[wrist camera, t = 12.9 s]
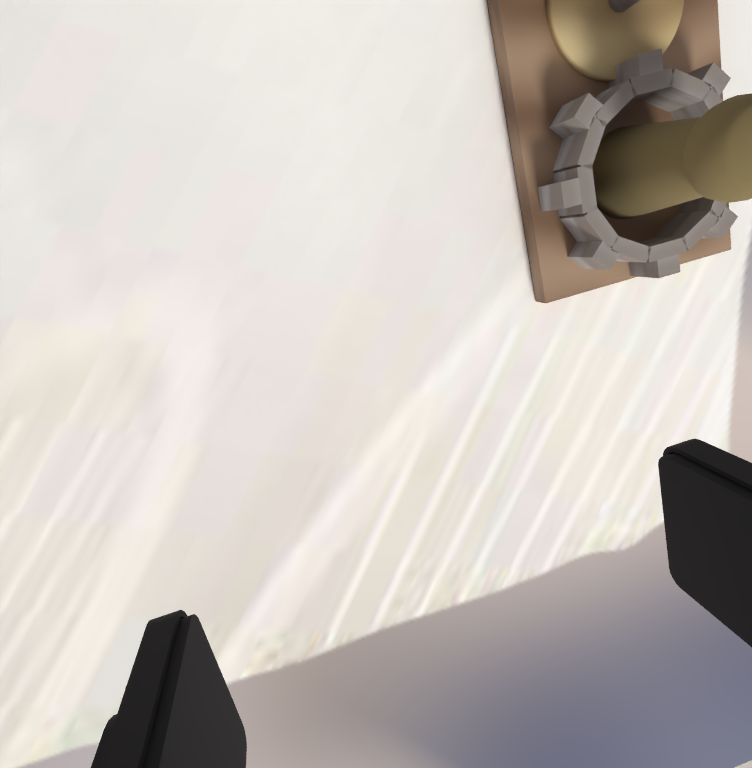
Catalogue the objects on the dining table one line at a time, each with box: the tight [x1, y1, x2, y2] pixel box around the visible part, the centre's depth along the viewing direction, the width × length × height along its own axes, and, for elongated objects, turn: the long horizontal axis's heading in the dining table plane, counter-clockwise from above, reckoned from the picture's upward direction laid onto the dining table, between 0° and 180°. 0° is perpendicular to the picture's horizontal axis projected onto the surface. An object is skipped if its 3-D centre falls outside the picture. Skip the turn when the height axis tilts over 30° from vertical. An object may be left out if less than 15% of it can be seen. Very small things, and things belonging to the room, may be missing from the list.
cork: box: [592, 94, 752, 219], centre depth 32 cm, size 6×6×11 cm
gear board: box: [487, 0, 738, 303], centre depth 35 cm, size 23×15×4 cm, turn 14°
